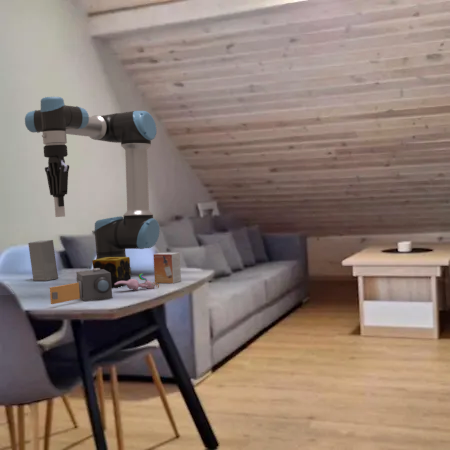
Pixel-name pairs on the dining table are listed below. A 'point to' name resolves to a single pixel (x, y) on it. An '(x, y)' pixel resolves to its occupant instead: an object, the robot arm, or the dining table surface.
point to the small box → (167, 267)
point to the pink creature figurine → (134, 283)
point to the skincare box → (43, 260)
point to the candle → (115, 268)
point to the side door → (66, 292)
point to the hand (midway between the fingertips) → (60, 216)
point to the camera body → (95, 284)
